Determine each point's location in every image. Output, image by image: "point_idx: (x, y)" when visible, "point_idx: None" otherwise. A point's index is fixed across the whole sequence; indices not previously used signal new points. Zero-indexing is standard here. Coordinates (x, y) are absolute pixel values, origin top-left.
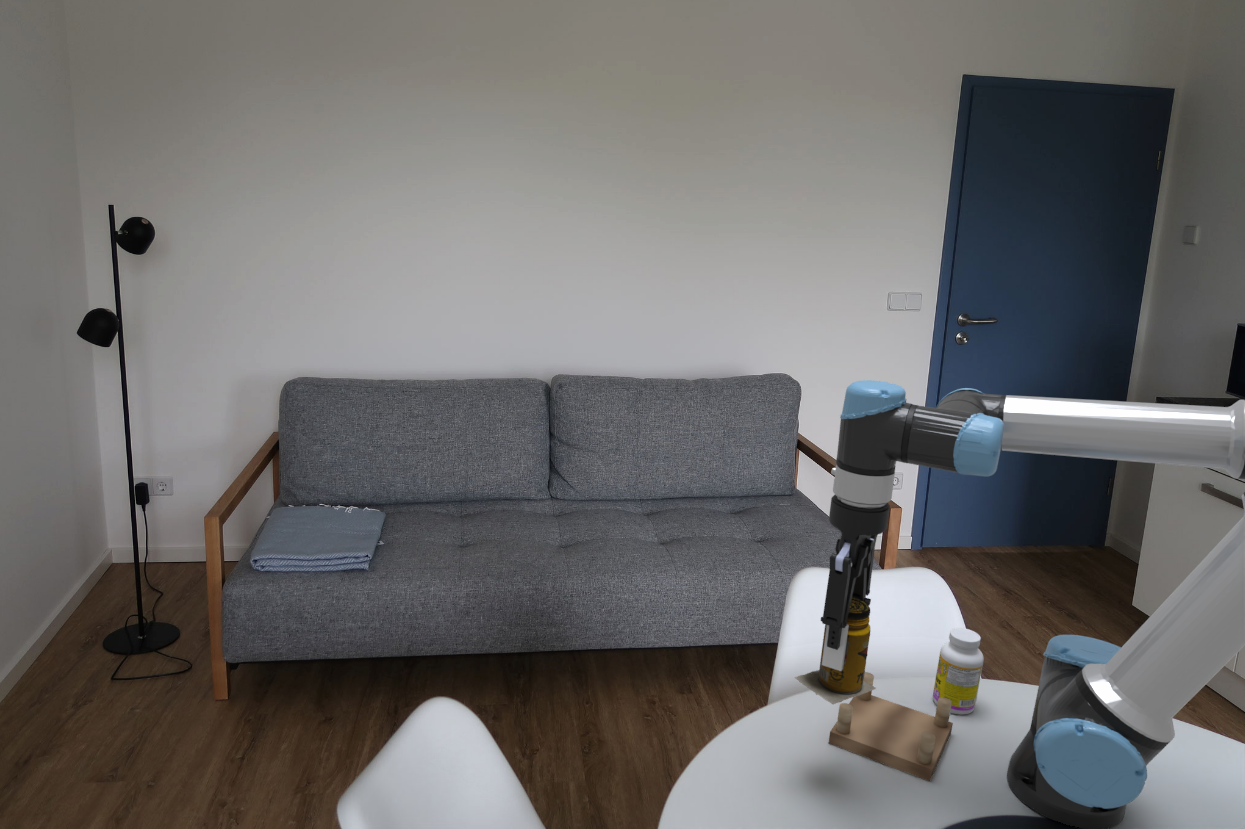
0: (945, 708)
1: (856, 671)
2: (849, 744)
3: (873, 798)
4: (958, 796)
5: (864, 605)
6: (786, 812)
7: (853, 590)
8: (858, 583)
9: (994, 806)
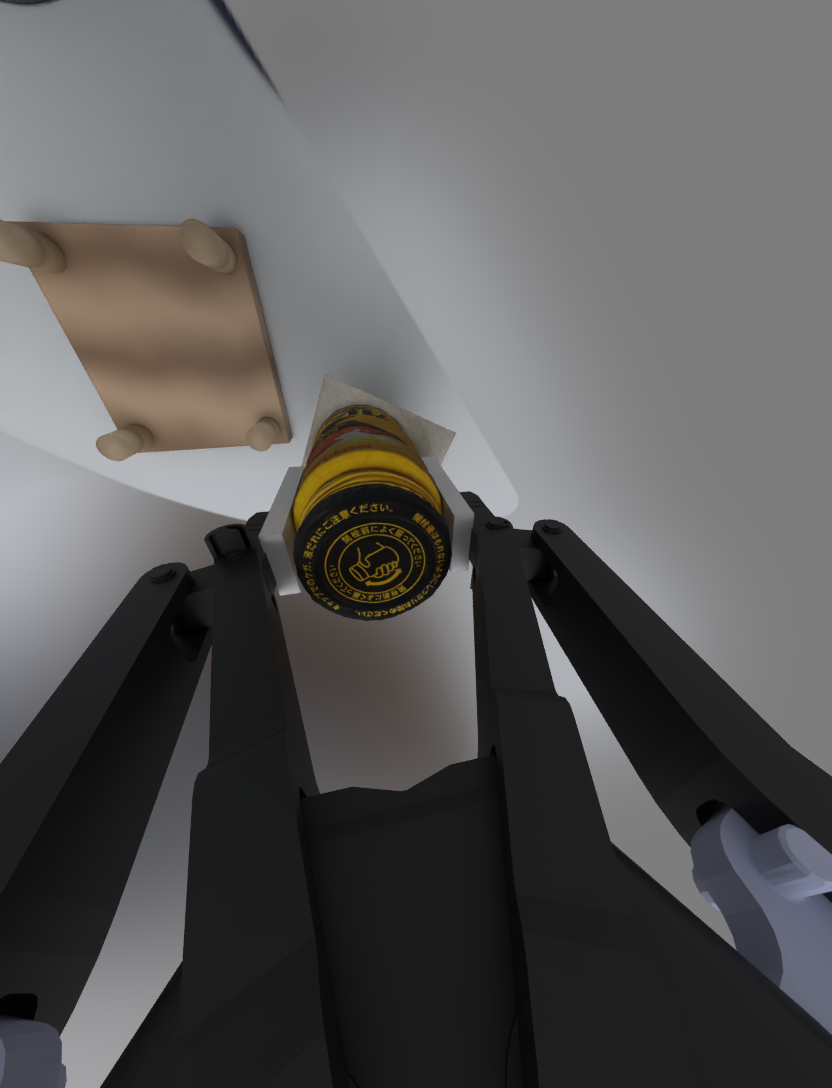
0: (13, 232)
1: (396, 426)
2: (282, 407)
3: (364, 326)
4: (237, 154)
5: (335, 531)
6: (462, 422)
7: (276, 614)
8: (275, 635)
9: (196, 35)
